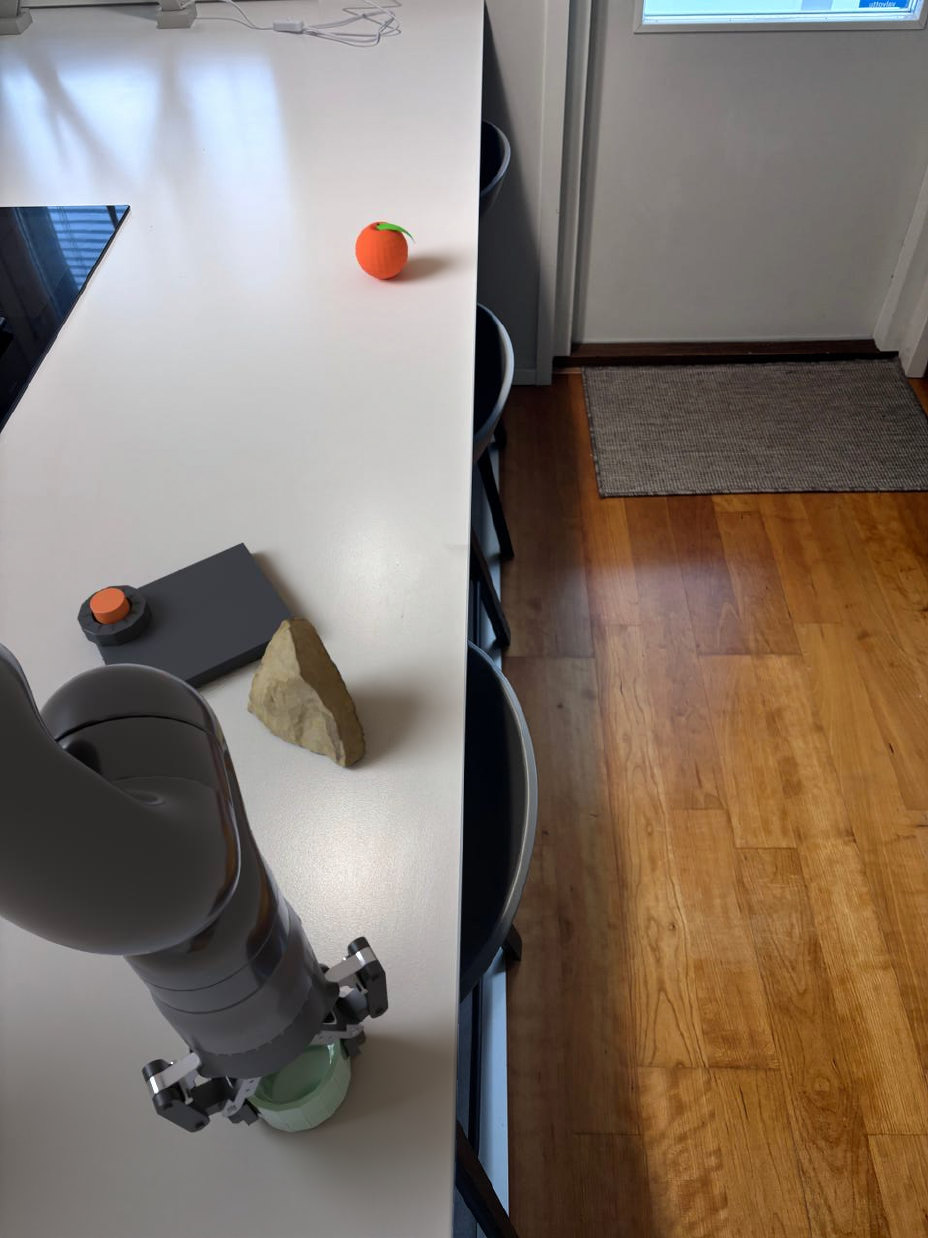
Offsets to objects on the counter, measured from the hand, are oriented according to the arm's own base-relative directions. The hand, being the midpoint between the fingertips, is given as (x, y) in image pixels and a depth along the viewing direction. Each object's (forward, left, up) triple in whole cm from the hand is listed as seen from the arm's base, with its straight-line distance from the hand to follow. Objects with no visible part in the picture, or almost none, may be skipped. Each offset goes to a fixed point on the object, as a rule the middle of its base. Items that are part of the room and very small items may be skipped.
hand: (300, 1074), depth 60 cm
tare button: (+3, +43, +2) cm, 44 cm away
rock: (+12, +24, -1) cm, 27 cm away
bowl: (0, 0, -1) cm, 1 cm away
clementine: (+53, +85, -1) cm, 100 cm away
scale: (+8, +40, -1) cm, 41 cm away
